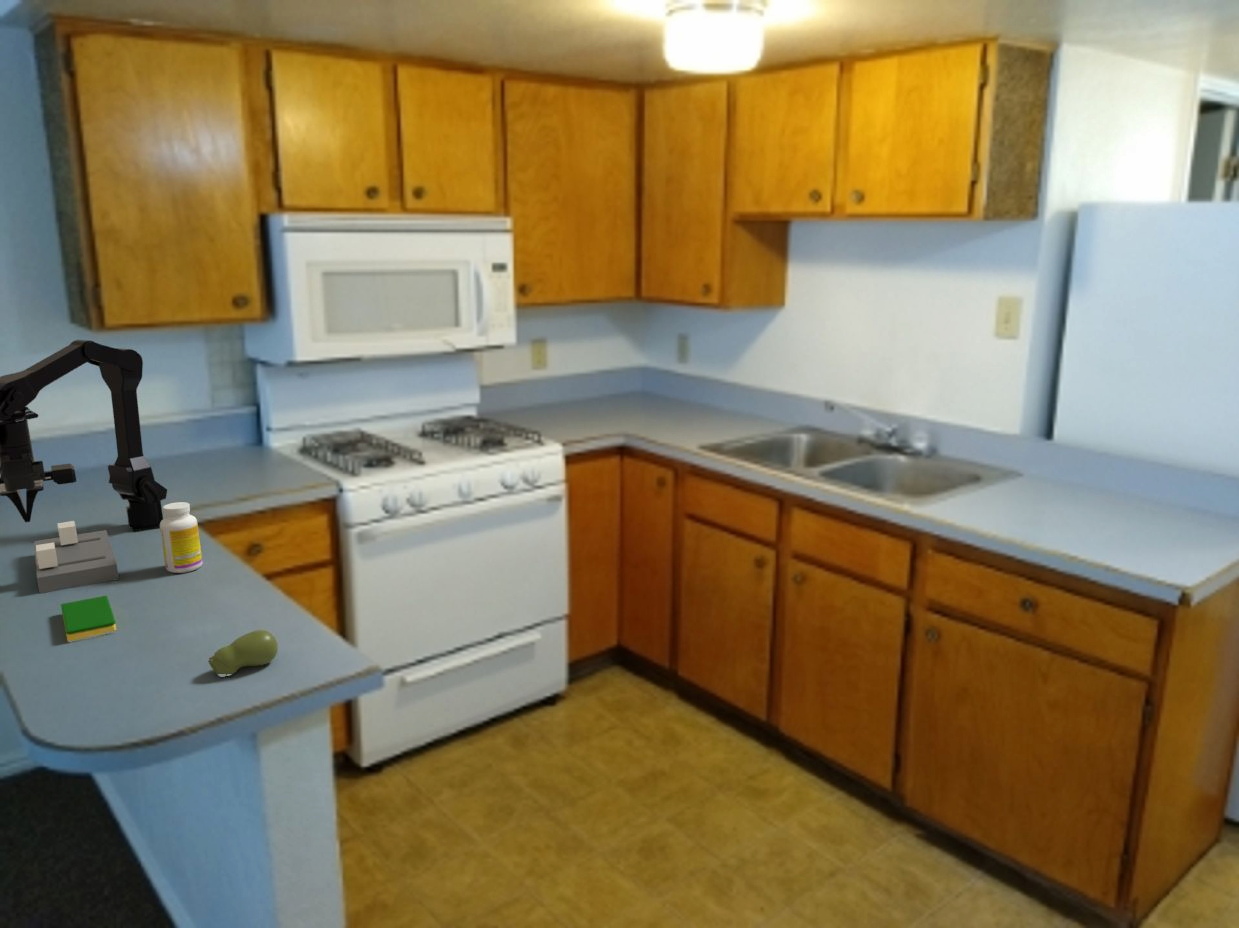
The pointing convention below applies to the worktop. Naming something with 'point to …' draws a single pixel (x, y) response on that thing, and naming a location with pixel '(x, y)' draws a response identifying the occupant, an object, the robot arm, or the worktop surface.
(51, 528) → the worktop surface
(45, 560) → the on handle
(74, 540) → the cream matte cube
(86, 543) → the grey slider switch panel
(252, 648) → the pear
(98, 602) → the dish sponge
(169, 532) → the supplement bottle
